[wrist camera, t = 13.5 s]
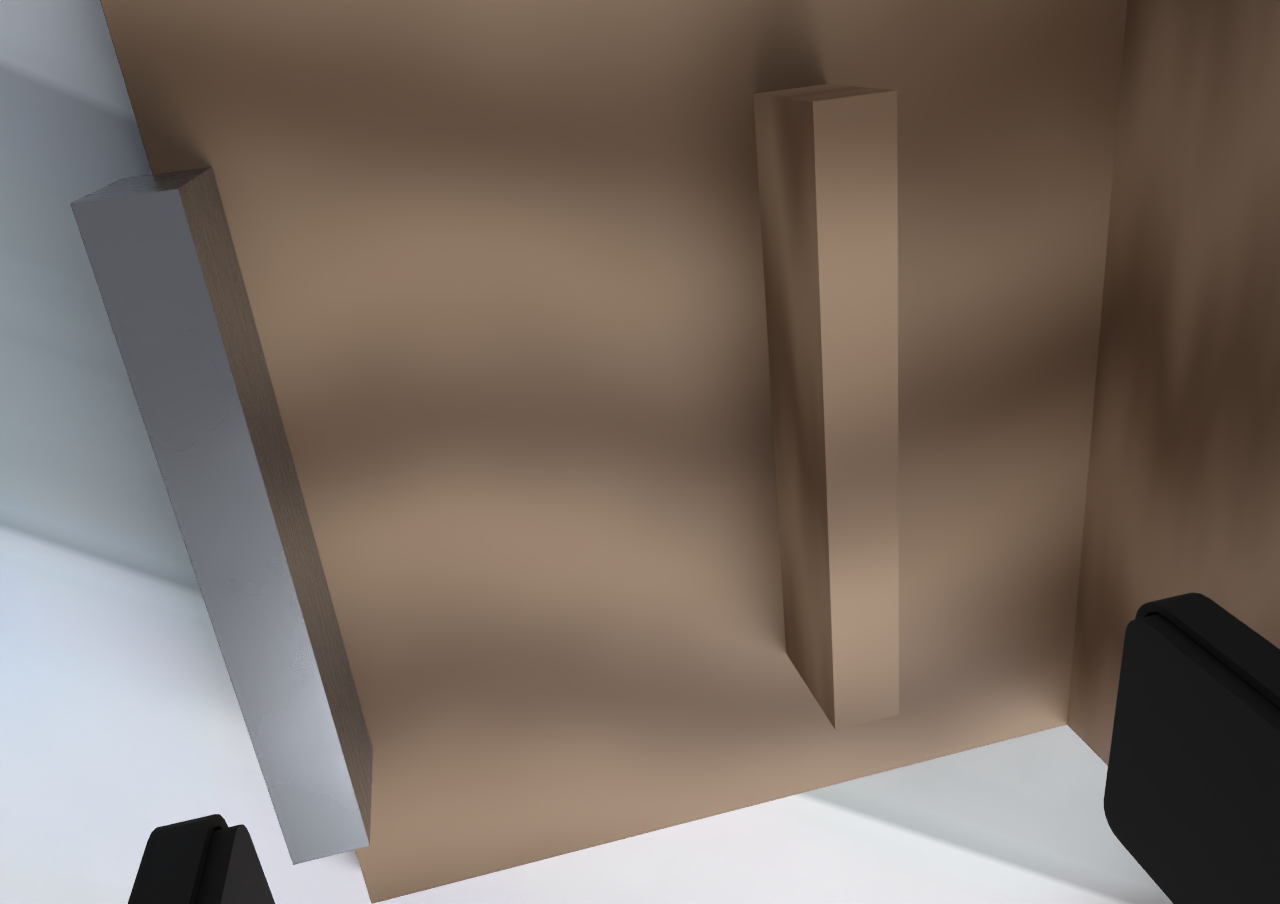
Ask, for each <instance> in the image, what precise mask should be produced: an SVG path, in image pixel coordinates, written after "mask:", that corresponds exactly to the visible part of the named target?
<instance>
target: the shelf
mask: <svg viewBox="0 0 1280 904" xmlns="http://www.w3.org/2000/svg"><path fill="white" fill-rule="evenodd" d="M100 1H101V5H102V8H103V11H104V15H105V18H106V21H107V25H108V28H109V31H110V34H111V38H112V41H113V44H114V48H115V51H116V54H117V58H118V61H119V64H120V68H121V71H122V74H123V78H124V81H125V84H126V88H127V91H128V94H129V98H130V101H131V104H132V108H133V111H134V114H135V118H136V121H137V124H138V128H139V131H140V134H141V138H142V141H143V144H144V148H145V151H146V154H147V158H148V161H149V164H150V168H151V171H152V174H153V175H154V174H161V173H169V172H176V171H183V170H191V169H198V168H206V167H213V171H214V174H215V178H216V182H217V185H218V189H219V193H220V196H221V200H222V203H223V207H224V211H225V214H226V218H227V222H228V225H229V229H230V232H231V236H232V240H233V243H234V247H235V251H236V254H237V258H238V261H239V265H240V269H241V272H242V276H243V280H244V283H245V287H246V291H247V294H248V298H249V301H250V305H251V309H252V312H253V316H254V320H255V323H256V327H257V330H258V334H259V338H260V341H261V345H262V349H263V352H264V356H265V359H266V363H267V367H268V370H269V374H270V378H271V381H272V385H273V388H274V392H275V396H276V399H277V403H278V407H279V410H280V414H281V417H282V421H283V425H284V428H285V432H286V436H287V439H288V443H289V446H290V450H291V454H292V457H293V461H294V465H295V468H296V472H297V476H298V479H299V483H300V486H301V490H302V494H303V497H304V501H305V505H306V508H307V512H308V515H309V519H310V523H311V526H312V530H313V534H314V537H315V541H316V544H317V548H318V552H319V555H320V559H321V563H322V566H323V570H324V573H325V577H326V581H327V584H328V588H329V592H330V595H331V599H332V602H333V606H334V610H335V613H336V617H337V621H338V624H339V628H340V631H341V635H342V639H343V642H344V646H345V650H346V653H347V657H348V661H349V664H350V668H351V671H352V675H353V679H354V682H355V686H356V690H357V693H358V697H359V700H360V704H361V708H362V711H363V715H364V719H365V722H366V726H367V729H368V733H369V737H370V740H371V744H372V748H373V767H372V795H371V824H370V846H367V847H363V848H359V849H355V850H356V853H357V857H358V860H359V863H360V867H361V870H362V873H363V877H364V880H365V883H366V887H367V890H368V893H369V897H370V900H371V903H376V902H380V901H384V900H388V899H392V898H396V897H400V896H403V895H407V894H411V893H415V892H419V891H423V890H427V889H431V888H435V887H438V886H442V885H446V884H450V883H454V882H458V881H462V880H466V879H469V878H473V877H477V876H481V875H485V874H489V873H493V872H497V871H500V870H504V869H508V868H512V867H516V866H520V865H524V864H528V863H531V862H535V861H539V860H543V859H547V858H551V857H555V856H559V855H562V854H566V853H570V852H574V851H578V850H582V849H586V848H590V847H594V846H597V845H601V844H605V843H609V842H613V841H617V840H621V839H625V838H628V837H632V836H636V835H640V834H644V833H648V832H652V831H656V830H659V829H663V828H667V827H671V826H675V825H679V824H683V823H687V822H690V821H694V820H698V819H702V818H706V817H710V816H714V815H718V814H721V813H725V812H729V811H733V810H737V809H741V808H745V807H749V806H753V805H756V804H760V803H764V802H768V801H772V800H776V799H780V798H784V797H787V796H791V795H795V794H799V793H803V792H807V791H811V790H815V789H818V788H822V787H826V786H830V785H834V784H838V783H842V782H846V781H849V780H853V779H857V778H861V777H865V776H869V775H873V774H877V773H880V772H884V771H888V770H892V769H896V768H900V767H904V766H908V765H912V764H915V763H919V762H923V761H927V760H931V759H935V758H939V757H943V756H946V755H950V754H954V753H958V752H962V751H966V750H970V749H974V748H977V747H981V746H985V745H989V744H993V743H997V742H1001V741H1005V740H1008V739H1012V738H1016V737H1020V736H1024V735H1028V734H1032V733H1036V732H1039V731H1043V730H1047V729H1051V728H1055V727H1059V726H1063V725H1068V726H1069V727H1070V728H1071V729H1072V730H1073V731H1074V732H1075V733H1076V734H1077V735H1078V736H1079V737H1080V738H1081V739H1082V740H1083V741H1084V742H1085V743H1086V744H1087V745H1088V746H1089V747H1090V748H1091V749H1092V750H1093V751H1094V752H1095V753H1096V754H1097V755H1098V756H1099V757H1100V758H1101V759H1102V760H1103V761H1104V762H1105V763H1106V764H1107V765H1108V763H1109V756H1110V748H1111V740H1112V732H1113V724H1114V716H1115V709H1116V701H1117V693H1118V685H1119V677H1120V669H1121V661H1122V654H1123V646H1124V638H1125V631H1126V628H1127V625H1128V624H1129V622H1130V621H1132V620H1135V617H1136V614H1137V610H1138V609H1139V608H1140V607H1141V605H1143V604H1145V603H1148V602H1152V601H1156V600H1161V599H1165V598H1169V597H1174V596H1178V595H1183V594H1187V593H1191V592H1193V593H1201V594H1202V595H1204V596H1206V597H1208V598H1210V599H1211V600H1213V601H1214V602H1215V603H1217V604H1218V605H1219V606H1221V607H1222V608H1224V609H1225V610H1226V611H1228V612H1229V613H1231V614H1232V615H1233V616H1235V617H1236V618H1237V619H1239V620H1240V621H1242V622H1243V623H1244V624H1246V625H1247V626H1248V627H1250V628H1251V629H1253V630H1254V631H1255V632H1257V633H1258V634H1259V635H1261V636H1262V637H1264V638H1265V639H1266V640H1268V641H1269V642H1270V643H1272V644H1273V645H1275V646H1276V647H1277V648H1279V649H1280V0H100Z"/></svg>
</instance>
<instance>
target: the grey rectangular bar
mask: <svg viewBox="0 0 1280 904" xmlns="http://www.w3.org/2000/svg"><path fill="white" fill-rule="evenodd" d="M71 207H72V210H73V213H74V216H75V219H76V222H77V225H78V228H79V231H80V234H81V237H82V240H83V243H84V246H85V249H86V251H87V254H88V257H89V260H90V263H91V266H92V269H93V272H94V275H95V278H96V281H97V284H98V287H99V290H100V293H101V296H102V299H103V302H104V305H105V308H106V311H107V314H108V317H109V320H110V323H111V326H112V329H113V332H114V335H115V337H116V340H117V343H118V346H119V349H120V352H121V355H122V358H123V361H124V364H125V367H126V370H127V373H128V376H129V379H130V382H131V385H132V388H133V391H134V394H135V397H136V400H137V403H138V406H139V409H140V412H141V415H142V418H143V421H144V424H145V426H146V429H147V432H148V435H149V438H150V441H151V444H152V447H153V450H154V453H155V456H156V459H157V462H158V465H159V468H160V471H161V474H162V477H163V480H164V483H165V486H166V489H167V492H168V495H169V498H170V501H171V504H172V507H173V510H174V512H175V515H176V518H177V521H178V524H179V527H180V530H181V533H182V536H183V539H184V542H185V545H186V548H187V551H188V554H189V557H190V560H191V563H192V566H193V569H194V572H195V575H196V578H197V581H198V584H199V587H200V590H201V593H202V596H203V598H204V601H205V604H206V607H207V610H208V613H209V616H210V619H211V622H212V625H213V628H214V631H215V634H216V637H217V640H218V643H219V646H220V649H221V652H222V655H223V658H224V661H225V664H226V667H227V670H228V673H229V676H230V679H231V682H232V685H233V687H234V690H235V693H236V696H237V699H238V702H239V705H240V708H241V711H242V714H243V717H244V720H245V723H246V726H247V729H248V732H249V735H250V738H251V741H252V744H253V747H254V750H255V753H256V756H257V759H258V762H259V765H260V768H261V771H262V773H263V776H264V779H265V782H266V785H267V788H268V791H269V794H270V797H271V800H272V803H273V806H274V809H275V812H276V815H277V818H278V821H279V824H280V827H281V830H282V833H283V836H284V839H285V842H286V845H287V848H288V851H289V854H290V857H291V859H292V862H293V865H294V864H298V863H302V862H306V861H310V860H315V859H319V858H323V857H327V856H331V855H335V854H339V853H343V852H347V851H351V850H355V849H359V848H363V847H367V846H370V824H371V795H372V767H373V748H372V744H371V740H370V737H369V733H368V729H367V726H366V722H365V719H364V715H363V711H362V708H361V704H360V700H359V697H358V693H357V690H356V686H355V682H354V679H353V675H352V671H351V668H350V664H349V661H348V657H347V653H346V650H345V646H344V642H343V639H342V635H341V631H340V628H339V624H338V621H337V617H336V613H335V610H334V606H333V602H332V599H331V595H330V592H329V588H328V584H327V581H326V577H325V573H324V570H323V566H322V563H321V559H320V555H319V552H318V548H317V544H316V541H315V537H314V534H313V530H312V526H311V523H310V519H309V515H308V512H307V508H306V505H305V501H304V497H303V494H302V490H301V486H300V483H299V479H298V476H297V472H296V468H295V465H294V461H293V457H292V454H291V450H290V446H289V443H288V439H287V436H286V432H285V428H284V425H283V421H282V417H281V414H280V410H279V407H278V403H277V399H276V396H275V392H274V388H273V385H272V381H271V378H270V374H269V370H268V367H267V363H266V359H265V356H264V352H263V349H262V345H261V341H260V338H259V334H258V330H257V327H256V323H255V320H254V316H253V312H252V309H251V305H250V301H249V298H248V294H247V291H246V287H245V283H244V280H243V276H242V272H241V269H240V265H239V261H238V258H237V254H236V251H235V247H234V243H233V240H232V236H231V232H230V229H229V225H228V222H227V218H226V214H225V211H224V207H223V203H222V200H221V196H220V193H219V189H218V185H217V182H216V178H215V174H214V171H213V167H206V168H198V169H191V170H183V171H176V172H169V173H161V174H154V175H146V176H139V177H131V178H124V179H121V180H119V181H117V182H114V183H112V184H110V185H108V186H106V187H104V188H102V189H100V190H98V191H96V192H94V193H92V194H89V195H87V196H85V197H83V198H81V199H79V200H77V201H75V202H73V203H71Z"/></svg>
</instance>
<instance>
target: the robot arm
mask: <svg viewBox="0 0 1280 904" xmlns="http://www.w3.org/2000/svg"><path fill="white" fill-rule="evenodd" d="M1104 811H1105V816H1106V818H1107V821H1108V824H1109V826H1110V828H1111V830H1112V831H1113V833H1114V834H1115V836H1116V837H1117V839H1118V840H1119V841H1120V842H1121V843H1122V844H1123V846H1124V847H1125V848H1126V849H1127V850H1128V851H1129V853H1130V854H1131V855H1132V856H1133V857H1134V858H1135V860H1136V861H1137V862H1138V863H1139V864H1140V865H1141V866H1142V868H1143V869H1144V870H1145V871H1146V872H1147V873H1148V875H1149V876H1150V877H1151V878H1152V879H1153V880H1154V882H1155V883H1156V884H1157V885H1158V886H1159V887H1160V888H1161V890H1162V891H1163V892H1164V893H1165V894H1166V895H1167V897H1168V898H1169V899H1170V900H1171V901H1172V902H1173V904H1280V649H1279V648H1277V647H1276V646H1275V645H1273V644H1272V643H1270V642H1269V641H1268V640H1266V639H1265V638H1264V637H1262V636H1261V635H1259V634H1258V633H1257V632H1255V631H1254V630H1253V629H1251V628H1250V627H1248V626H1247V625H1246V624H1244V623H1243V622H1242V621H1240V620H1239V619H1237V618H1236V617H1235V616H1233V615H1232V614H1231V613H1229V612H1228V611H1226V610H1225V609H1224V608H1222V607H1221V606H1219V605H1218V604H1217V603H1215V602H1214V601H1213V600H1211V599H1210V598H1208V597H1206V596H1204V595H1202V594H1201V593H1193V592H1191V593H1187V594H1183V595H1178V596H1174V597H1169V598H1165V599H1161V600H1156V601H1152V602H1148V603H1145V604H1143V605H1141V607H1140V608H1139V609H1138V610H1137V614H1136V617H1135V620H1132V621H1130V622H1129V624H1128V625H1127V628H1126V631H1125V638H1124V646H1123V654H1122V661H1121V669H1120V677H1119V685H1118V693H1117V701H1116V709H1115V716H1114V724H1113V732H1112V740H1111V748H1110V756H1109V763H1108V771H1107V779H1106V787H1105V795H1104ZM128 904H275V902H274V899H273V897H272V894H271V891H270V889H269V886H268V883H267V880H266V878H265V875H264V872H263V869H262V867H261V864H260V861H259V859H258V856H257V853H256V850H255V848H254V845H253V842H252V840H251V837H250V834H249V832H248V830H247V828H246V827H245V826H244V825H237V826H233V827H228V826H227V824H226V822H225V819H224V818H223V817H222V816H221V815H219V814H215V815H210V816H206V817H201V818H197V819H193V820H188V821H184V822H179V823H175V824H171V825H166V826H162V827H157V828H156V829H155V830H154V831H153V832H152V833H151V835H150V837H149V839H148V842H147V845H146V848H145V851H144V854H143V857H142V860H141V864H140V867H139V870H138V873H137V876H136V879H135V882H134V886H133V889H132V892H131V895H130V898H129V901H128Z"/></svg>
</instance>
